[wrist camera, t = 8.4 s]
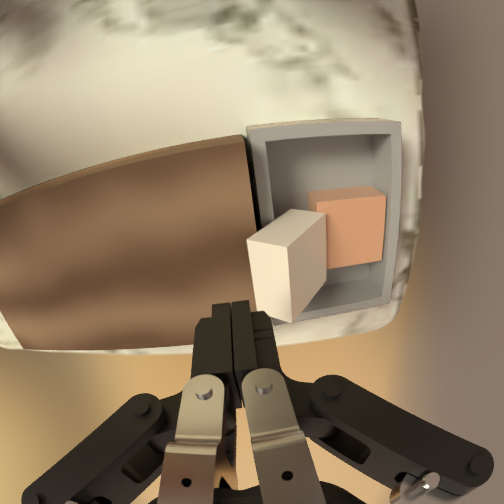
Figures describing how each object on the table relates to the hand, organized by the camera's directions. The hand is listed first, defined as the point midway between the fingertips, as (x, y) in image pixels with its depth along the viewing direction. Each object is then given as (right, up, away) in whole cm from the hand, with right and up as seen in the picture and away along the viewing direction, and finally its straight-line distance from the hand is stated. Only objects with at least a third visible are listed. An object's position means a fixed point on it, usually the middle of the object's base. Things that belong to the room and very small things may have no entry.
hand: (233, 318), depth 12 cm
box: (+6, +6, +10) cm, 13 cm away
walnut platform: (-11, +3, +10) cm, 15 cm away
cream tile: (+2, +2, +7) cm, 8 cm away
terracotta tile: (+8, +4, +7) cm, 11 cm away
